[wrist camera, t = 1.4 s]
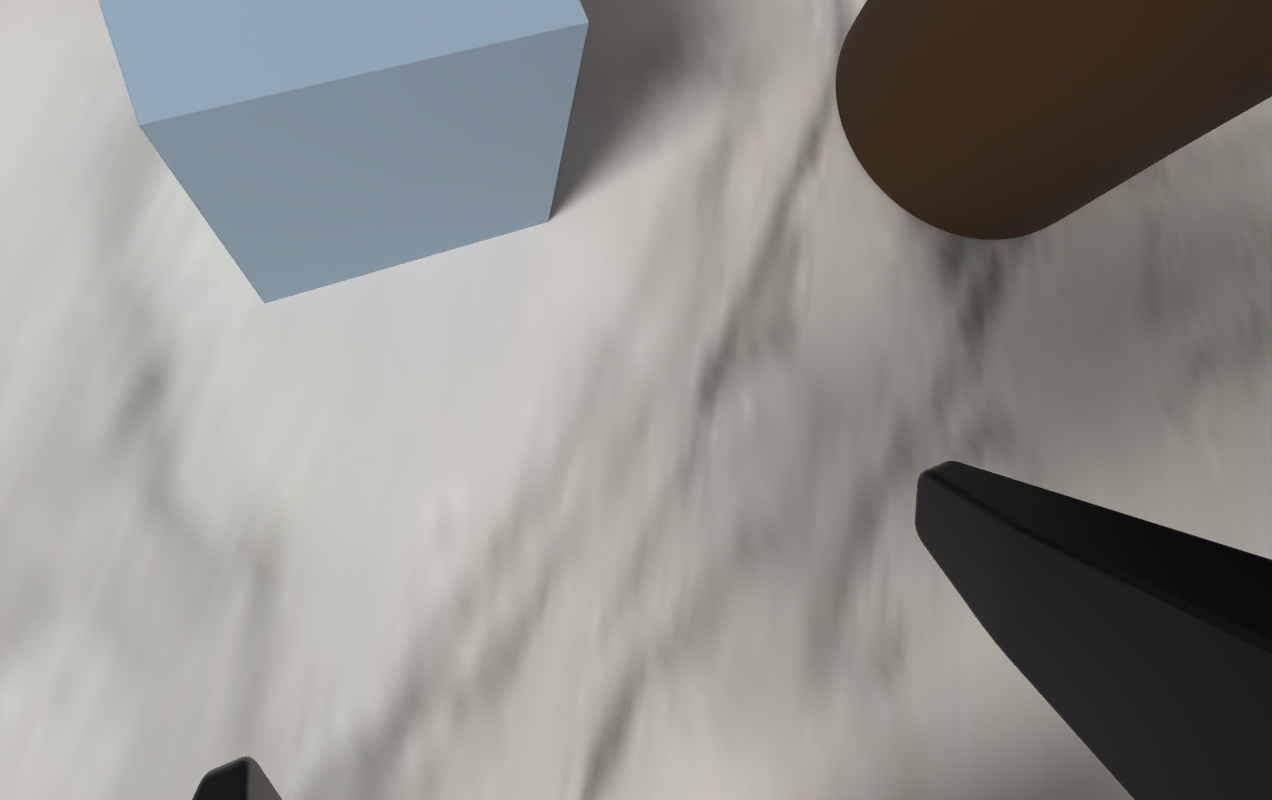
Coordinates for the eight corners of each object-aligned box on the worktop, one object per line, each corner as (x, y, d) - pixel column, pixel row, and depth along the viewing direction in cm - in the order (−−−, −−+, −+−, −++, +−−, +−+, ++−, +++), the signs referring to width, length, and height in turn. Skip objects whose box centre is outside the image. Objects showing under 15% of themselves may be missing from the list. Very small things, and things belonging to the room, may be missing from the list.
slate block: (548, 222, 25) (589, 22, 16) (265, 304, 23) (138, 125, 14) (444, -41, 26) (431, -359, 17) (168, 14, 24) (-3, -313, 15)
